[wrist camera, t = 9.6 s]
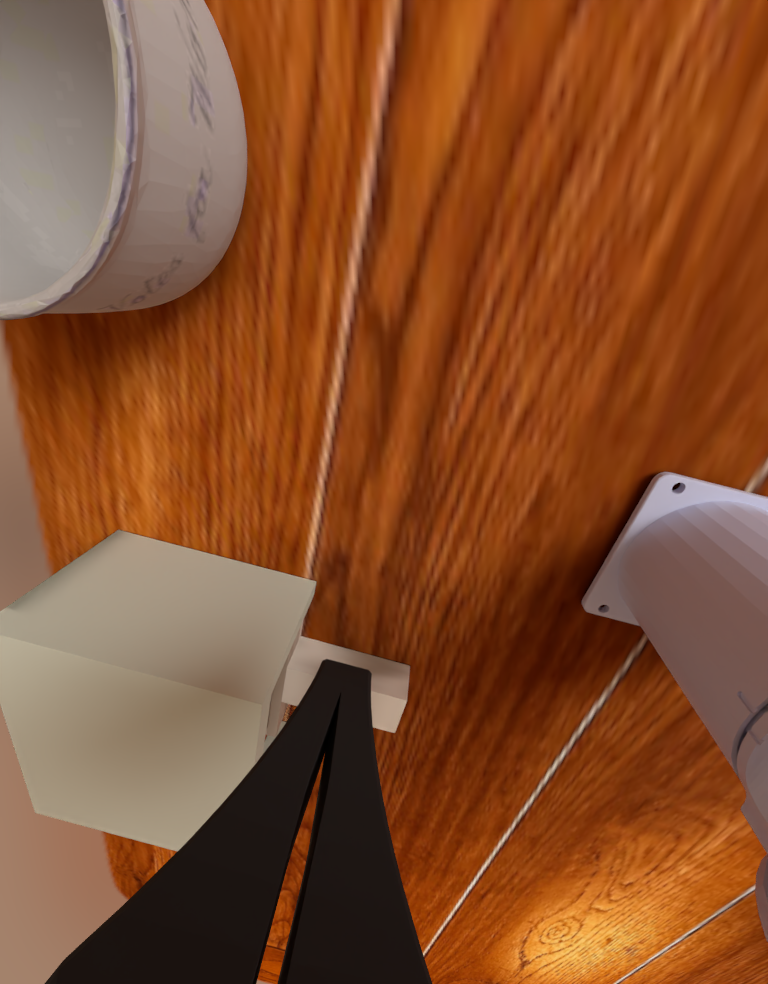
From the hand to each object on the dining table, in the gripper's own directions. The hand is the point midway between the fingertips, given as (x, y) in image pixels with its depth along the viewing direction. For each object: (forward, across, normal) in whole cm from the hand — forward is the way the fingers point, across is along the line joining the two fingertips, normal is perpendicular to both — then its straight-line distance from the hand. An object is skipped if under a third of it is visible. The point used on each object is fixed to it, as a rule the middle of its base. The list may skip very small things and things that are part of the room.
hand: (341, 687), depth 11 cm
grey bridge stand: (+10, +9, +12) cm, 18 cm away
